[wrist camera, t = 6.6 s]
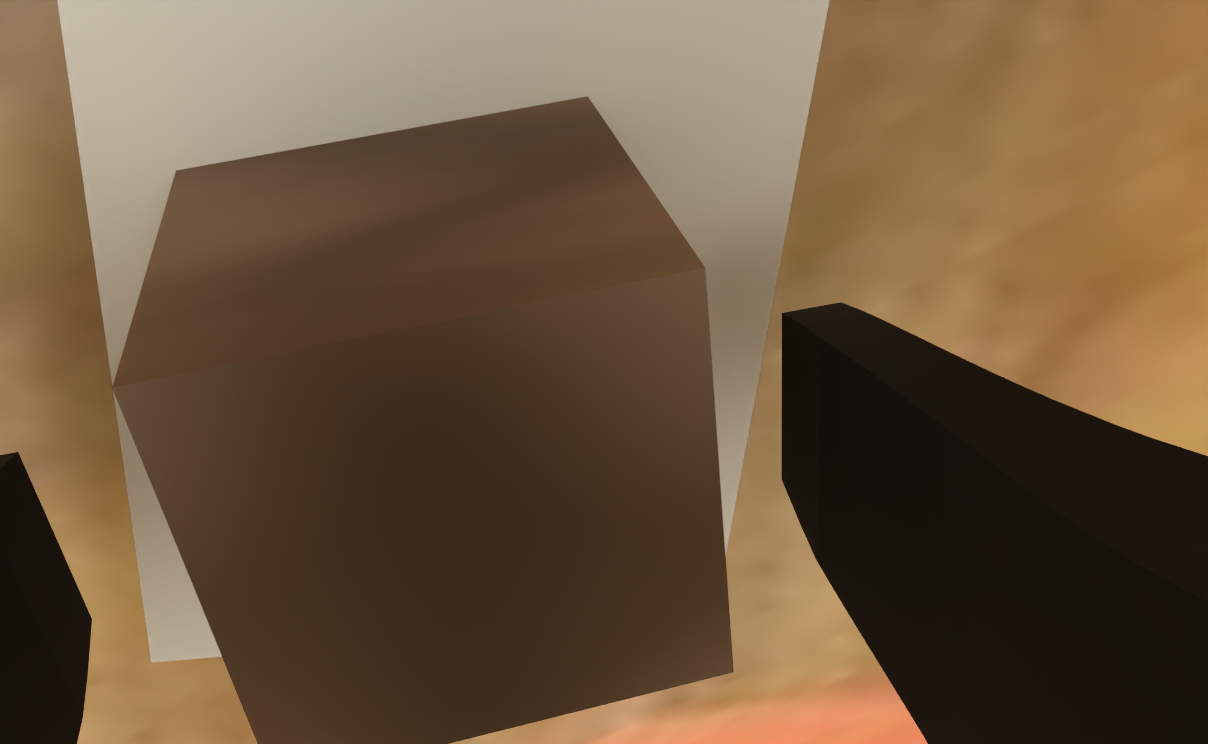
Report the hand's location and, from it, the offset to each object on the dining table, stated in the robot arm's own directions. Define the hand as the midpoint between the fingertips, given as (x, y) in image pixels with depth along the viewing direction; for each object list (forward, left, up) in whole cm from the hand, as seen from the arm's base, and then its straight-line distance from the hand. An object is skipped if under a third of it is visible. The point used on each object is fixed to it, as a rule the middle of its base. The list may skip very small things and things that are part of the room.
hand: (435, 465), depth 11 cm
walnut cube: (0, 0, -3) cm, 3 cm away
